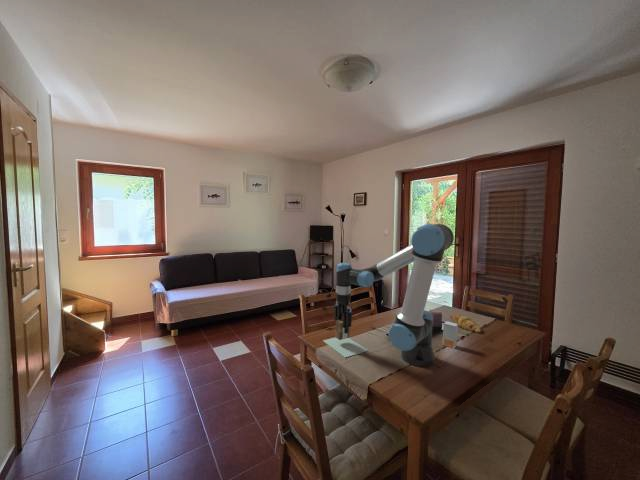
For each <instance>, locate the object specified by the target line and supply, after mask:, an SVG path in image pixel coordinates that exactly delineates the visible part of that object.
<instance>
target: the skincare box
mask: <svg viewBox="0 0 640 480" xmlns="http://www.w3.org/2000/svg"><path fill="white" fill-rule="evenodd" d="M442 330H443V331H442V344H441V345H442V346H445V347H449V348H452V349H455V348H456V347H457V345H458V333H459V326H458V324H455V323H453V322H452V321H447V320H445V322H444V323H443V327H442Z"/></svg>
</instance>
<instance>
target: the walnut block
mask: <svg viewBox="0 0 640 480" xmlns="http://www.w3.org/2000/svg"><path fill="white" fill-rule="evenodd" d="M343 326H344V324H343V318H342V319H340V320H336V321H335V331H334V332H335V333H334V334H335V335H334V336H335V337H336V338H337V339H339V340H343V339H342V332H343ZM347 338H350V327H348V335H347Z"/></svg>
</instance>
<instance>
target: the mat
mask: <svg viewBox="0 0 640 480" xmlns="http://www.w3.org/2000/svg"><path fill="white" fill-rule="evenodd" d="M322 342H324V343H325V344H326V345H327V346H329V347H330V348H331V349H332V348H333V349H332V350H334V351H335V350H336V351H337V352H336V351H335V352H336V353H337V354H339V353H340V354H341V357H343V356H344V357H345V358H344V357H343V358H344V359H347V358H350V356H351V357H353V355H354V356H356V355H359V354H363V353H365V352H369V350H368V349H367V348H365V347H364V346H362V345H360V344H359V343H358V342H356V341H355V340H353V339H351V338H350V337H349V338H347V339H343V340H339V339H337V338H336V337H331V338H328V339H323V340H322ZM340 354H339V355H340ZM346 357H347V358H346Z"/></svg>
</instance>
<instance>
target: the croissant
mask: <svg viewBox="0 0 640 480" xmlns="http://www.w3.org/2000/svg"><path fill="white" fill-rule="evenodd" d="M449 318H450V319H451V322H452V323H455V324H458V328H460V329H463V330H467V329H468V330H467V331H471V332H475V333H481V332H482V331H481V327H479V325H478V324H477V322H475V320H472V319H471V318H470V317H469V316H467V315H463V314H462V315H454V316H453V315H451V316H450V317H449Z"/></svg>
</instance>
